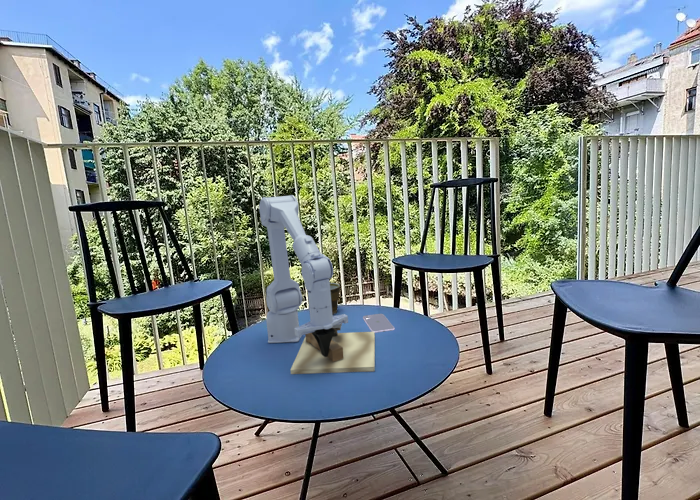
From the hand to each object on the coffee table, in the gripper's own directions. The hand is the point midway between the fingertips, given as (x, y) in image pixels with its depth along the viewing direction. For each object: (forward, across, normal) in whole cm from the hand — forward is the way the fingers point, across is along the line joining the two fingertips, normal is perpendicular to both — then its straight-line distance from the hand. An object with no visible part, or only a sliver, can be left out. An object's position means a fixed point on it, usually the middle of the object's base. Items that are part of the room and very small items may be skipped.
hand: (324, 355), depth 96 cm
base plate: (+2, +6, +4) cm, 7 cm away
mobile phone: (+3, +27, +14) cm, 31 cm away
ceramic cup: (+2, +19, +34) cm, 39 cm away
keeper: (+1, +7, +12) cm, 14 cm away
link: (+1, +3, +6) cm, 7 cm away
